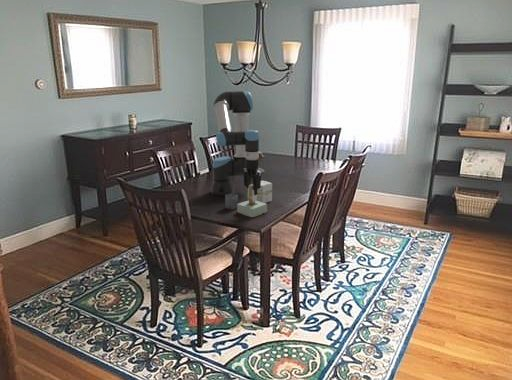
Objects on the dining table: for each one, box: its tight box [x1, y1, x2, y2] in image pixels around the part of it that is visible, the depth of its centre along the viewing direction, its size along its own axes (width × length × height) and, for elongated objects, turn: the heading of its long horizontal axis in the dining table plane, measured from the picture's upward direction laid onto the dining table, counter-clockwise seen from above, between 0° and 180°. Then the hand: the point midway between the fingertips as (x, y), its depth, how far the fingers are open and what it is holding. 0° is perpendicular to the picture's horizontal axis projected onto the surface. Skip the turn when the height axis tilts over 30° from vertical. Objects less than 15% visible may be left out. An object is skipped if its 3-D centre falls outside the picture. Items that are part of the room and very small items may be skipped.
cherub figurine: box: [258, 151, 265, 174], centre depth 321 cm, size 18×18×18 cm
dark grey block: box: [224, 193, 239, 211], centre depth 238 cm, size 6×6×8 cm
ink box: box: [256, 180, 273, 204], centre depth 249 cm, size 9×8×12 cm
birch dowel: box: [248, 183, 255, 206], centre depth 228 cm, size 4×4×12 cm
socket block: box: [236, 199, 268, 218], centre depth 231 cm, size 12×12×5 cm
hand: (252, 199), depth 229 cm, fingers closed on birch dowel, 3 cm apart
